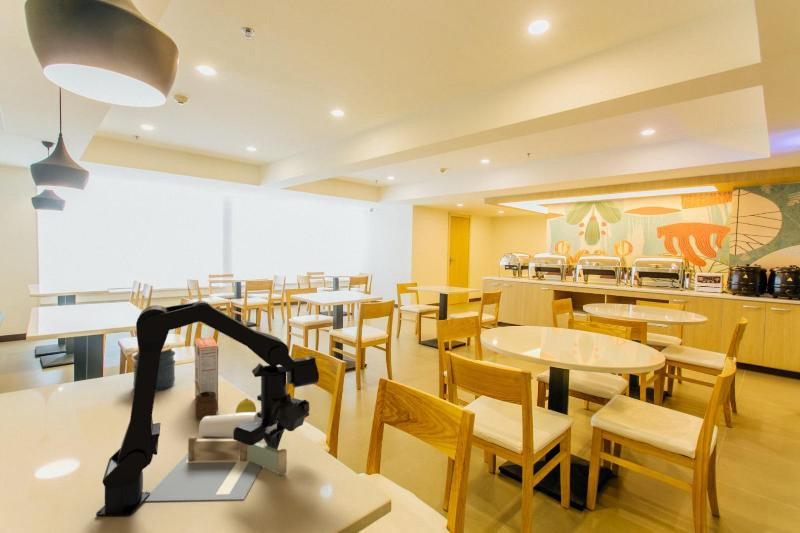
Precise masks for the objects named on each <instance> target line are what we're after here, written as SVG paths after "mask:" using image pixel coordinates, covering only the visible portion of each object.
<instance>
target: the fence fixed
mask: <svg viewBox="0 0 800 533" xmlns="http://www.w3.org/2000/svg"><path fill="white" fill-rule="evenodd" d="M187 443H188V445H187V446H188V447H187V449H188V450H187V452H188V461H203V460H238V459H239V457H240V461H247V444H244V443H242V442H239V441H236V440H234V439H233V438H198V436H197V435H191V436H189V437H188V442H187Z"/></svg>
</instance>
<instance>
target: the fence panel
mask: <svg viewBox="0 0 800 533" xmlns="http://www.w3.org/2000/svg"><path fill="white" fill-rule="evenodd" d="M287 456H288V451H287V449H285V448H282V449H275V448H272V447H269V446H267V444H263V443H261V442H258V443H256V444H254V445H250V446H249V445H247V460H248V461H250V462H253V463H255V464H258V465H260V466H262V467H263V468H264V469H268V470H270V471H273V472H275V473H278V475H280V476H281V475H285V474H287V467H288V466H287V465H288V464H287V462H288V461H287V459H288V458H287Z"/></svg>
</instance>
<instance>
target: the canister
mask: <svg viewBox="0 0 800 533" xmlns="http://www.w3.org/2000/svg"><path fill="white" fill-rule="evenodd" d="M172 349H173V345H171V344H169V343H167V342H165V343H164V346H163V349H162V351H161V354H160V361H159V368H158V375H157V382H156V390H158V391H161V389H162V390H165V389H168V388H171V387H172V386H174V384H175V381H176V375H175V368H176V367H175V363H176V360H175V359H174V357H175V355H176V352H175V351H174V350H172ZM135 351H136V354H134V355H133V359H134V364H133V382H132V383H133V384H132V386H133V390H134V389H135V382H136V374H137V367H138V360H139V349H138V348H137V349H136V350H135ZM156 390H155V392H156Z"/></svg>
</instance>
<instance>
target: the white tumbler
mask: <svg viewBox="0 0 800 533" xmlns="http://www.w3.org/2000/svg"><path fill="white" fill-rule="evenodd" d="M258 412H259V411H256V412H241V413H236V412H235V413H233V412H232V413H227V414H226V413H225V414H224V413H223V414H218V415H217V414H216V415H214V416H205V417H203V418H202V420H200V422H199V425H198V433H199V436H200V437H203V438H221V439H233V431H234V429H235V428H236V427H237V426H239V425H241V424H243V423H245V422H247V421H252V422H255V423H257V422H259V421H261V418H260V417H257V413H258Z"/></svg>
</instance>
